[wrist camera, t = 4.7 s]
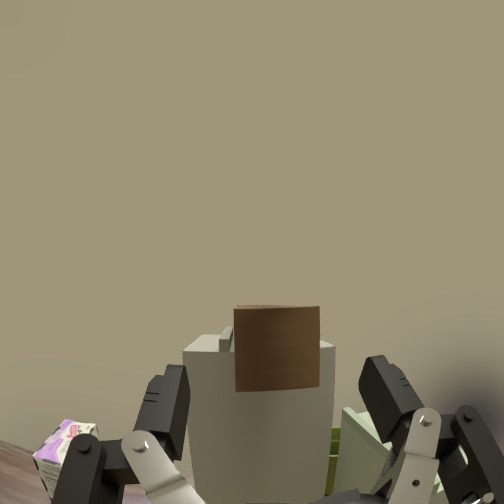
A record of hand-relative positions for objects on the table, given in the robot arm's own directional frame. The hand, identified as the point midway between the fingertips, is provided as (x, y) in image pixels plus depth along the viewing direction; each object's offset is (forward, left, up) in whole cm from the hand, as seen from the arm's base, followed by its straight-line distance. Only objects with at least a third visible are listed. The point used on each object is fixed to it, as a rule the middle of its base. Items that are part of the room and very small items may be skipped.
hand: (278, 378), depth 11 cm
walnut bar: (0, +12, 0) cm, 12 cm away
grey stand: (0, +15, -32) cm, 36 cm away
